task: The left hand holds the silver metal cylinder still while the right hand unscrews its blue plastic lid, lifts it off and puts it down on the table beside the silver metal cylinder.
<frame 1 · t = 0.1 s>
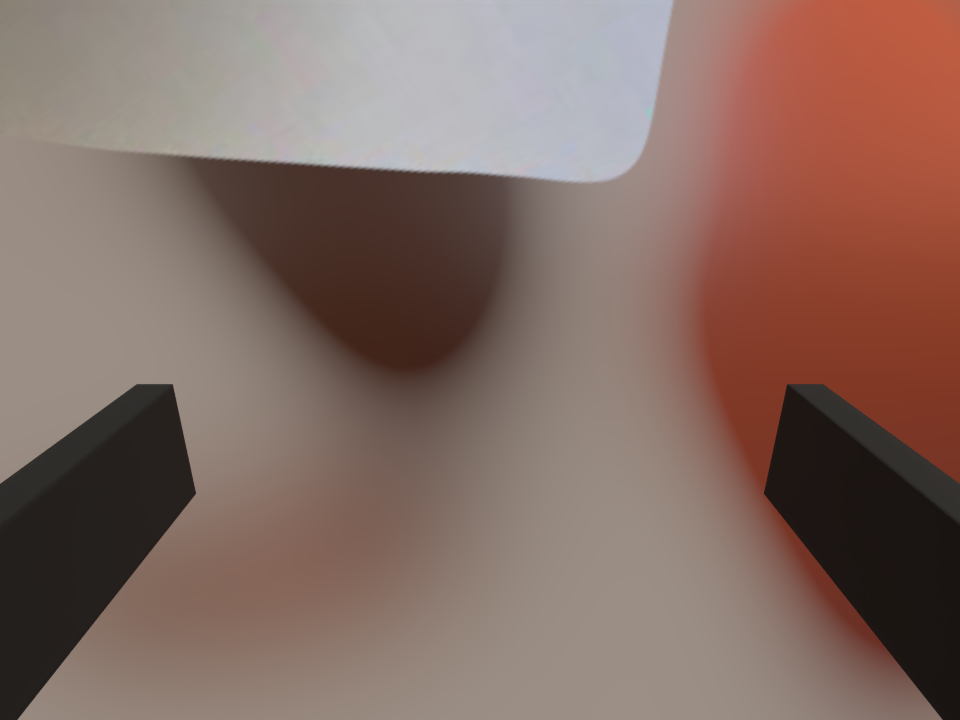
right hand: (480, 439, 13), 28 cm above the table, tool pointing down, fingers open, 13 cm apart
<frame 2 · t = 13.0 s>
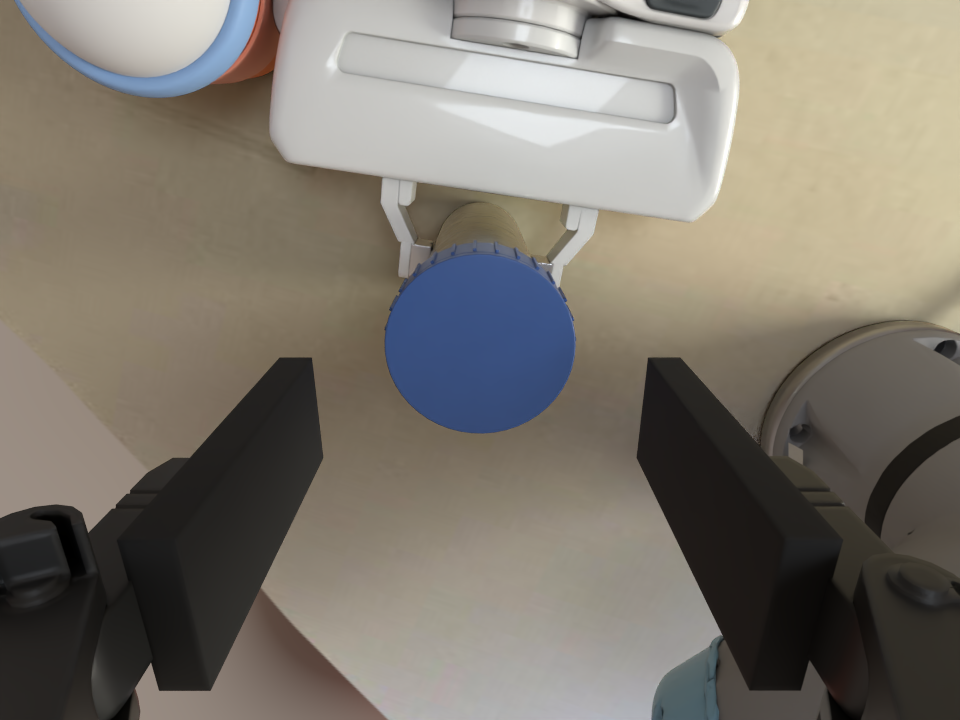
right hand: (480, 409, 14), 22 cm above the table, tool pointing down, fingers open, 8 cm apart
left hand: (478, 285, 29), fingers closed on silver metal cylinder, 5 cm apart
lid: (480, 345, 18), point 18 cm above the table, screwed on, not yet turned
cup with straw: (240, 14, 30), on the table
silver metal cylinder: (479, 245, 35), on the table, touching left hand
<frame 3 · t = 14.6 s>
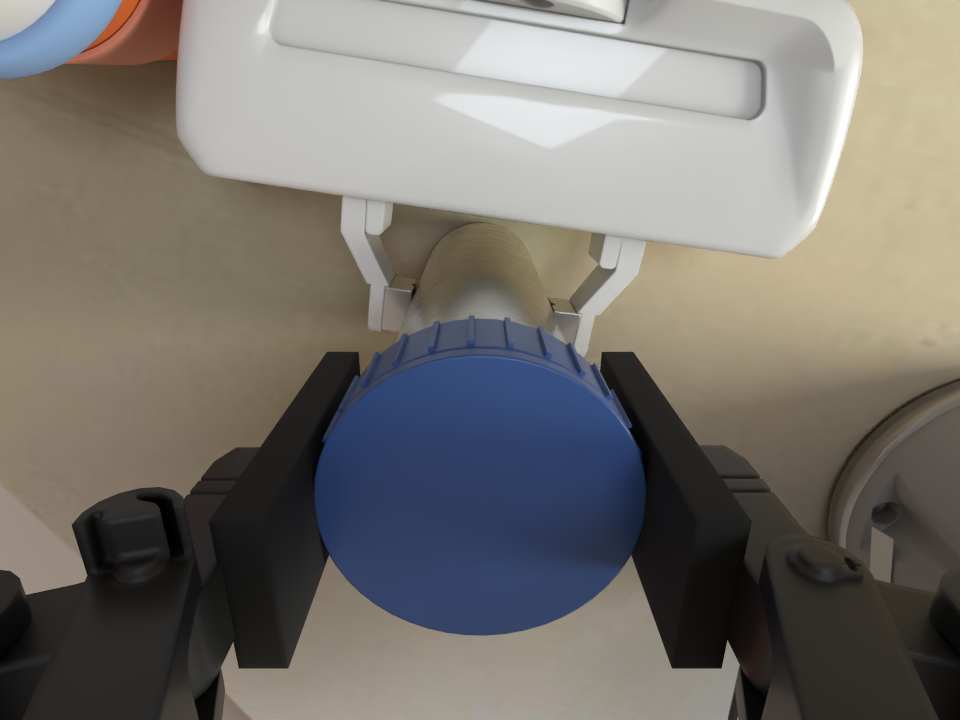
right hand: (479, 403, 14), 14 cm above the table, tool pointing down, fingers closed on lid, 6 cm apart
left hand: (477, 340, 21), fingers closed on silver metal cylinder, 5 cm apart
lid: (480, 498, 11), point 18 cm above the table, screwed on, not yet turned, touching right hand
silver metal cylinder: (479, 276, 27), on the table, touching left hand
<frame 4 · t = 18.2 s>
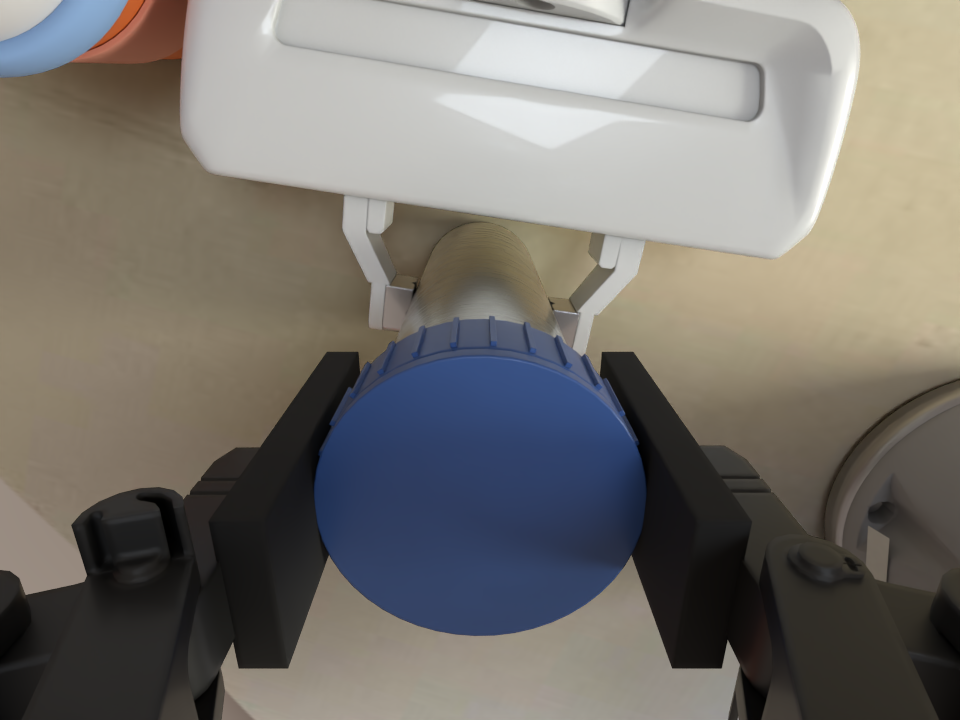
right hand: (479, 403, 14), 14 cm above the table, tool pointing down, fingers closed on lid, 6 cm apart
left hand: (477, 339, 22), fingers closed on silver metal cylinder, 5 cm apart
lid: (480, 499, 11), point 18 cm above the table, turned 109° so far, risen 0.2 cm, still on its thread, touching right hand
silver metal cylinder: (480, 276, 27), on the table, touching left hand
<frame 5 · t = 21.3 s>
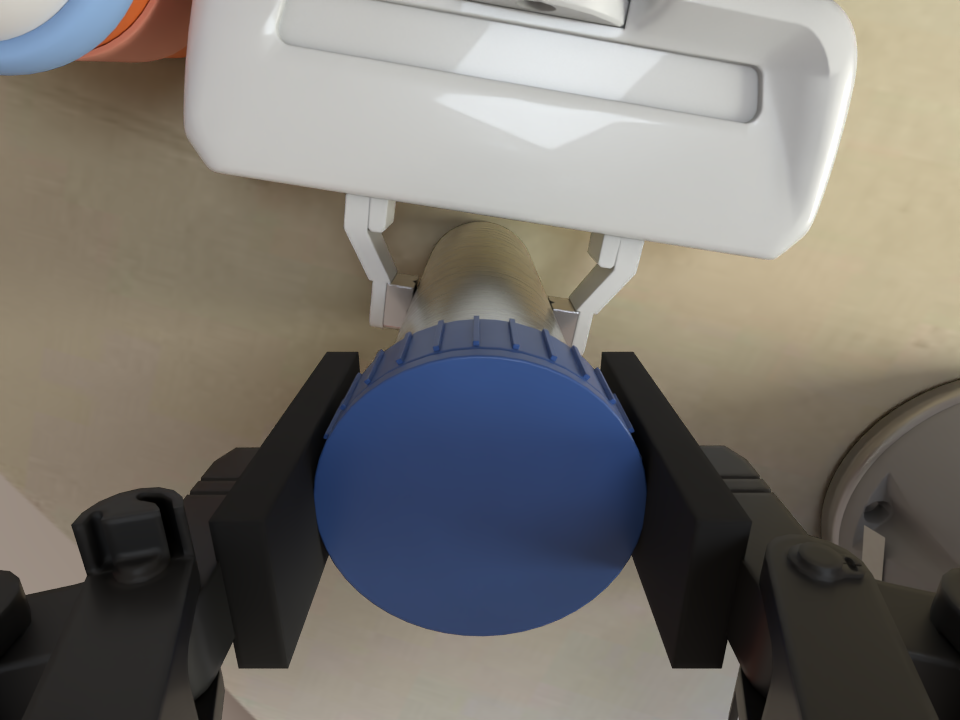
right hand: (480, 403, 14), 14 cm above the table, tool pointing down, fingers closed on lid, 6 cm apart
left hand: (477, 337, 22), fingers closed on silver metal cylinder, 5 cm apart
lid: (480, 499, 11), point 18 cm above the table, turned 217° so far, risen 0.4 cm, still on its thread, touching right hand
silver metal cylinder: (480, 275, 27), on the table, touching left hand
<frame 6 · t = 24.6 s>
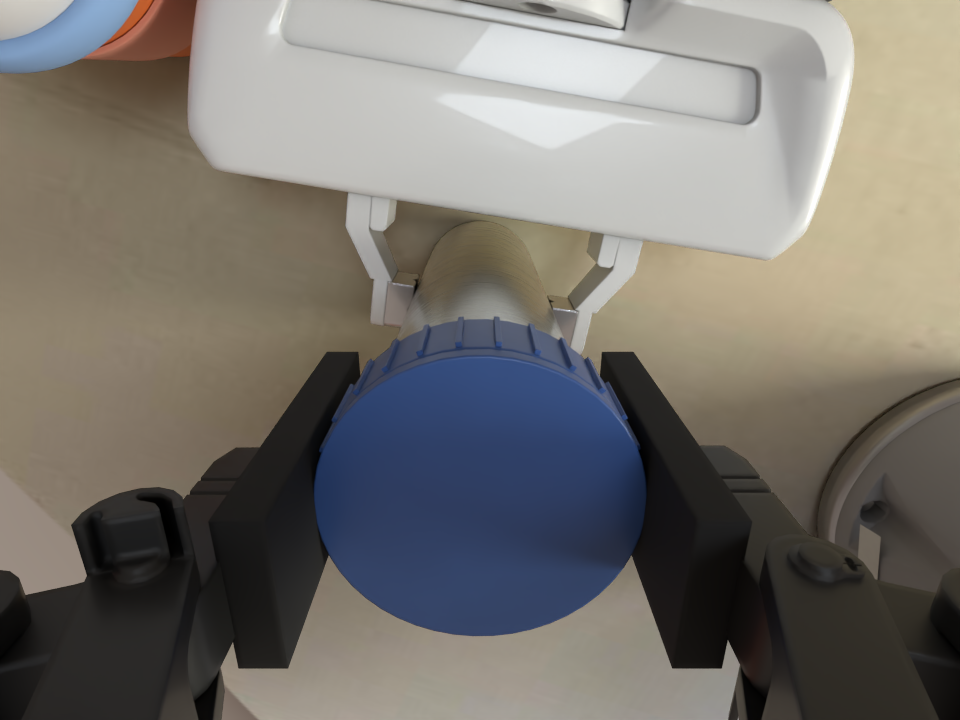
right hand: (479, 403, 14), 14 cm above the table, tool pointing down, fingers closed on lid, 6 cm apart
left hand: (477, 335, 22), fingers closed on silver metal cylinder, 5 cm apart
lid: (480, 499, 11), point 18 cm above the table, turned 326° so far, risen 0.6 cm, still on its thread, touching right hand
silver metal cylinder: (480, 274, 28), on the table, touching left hand
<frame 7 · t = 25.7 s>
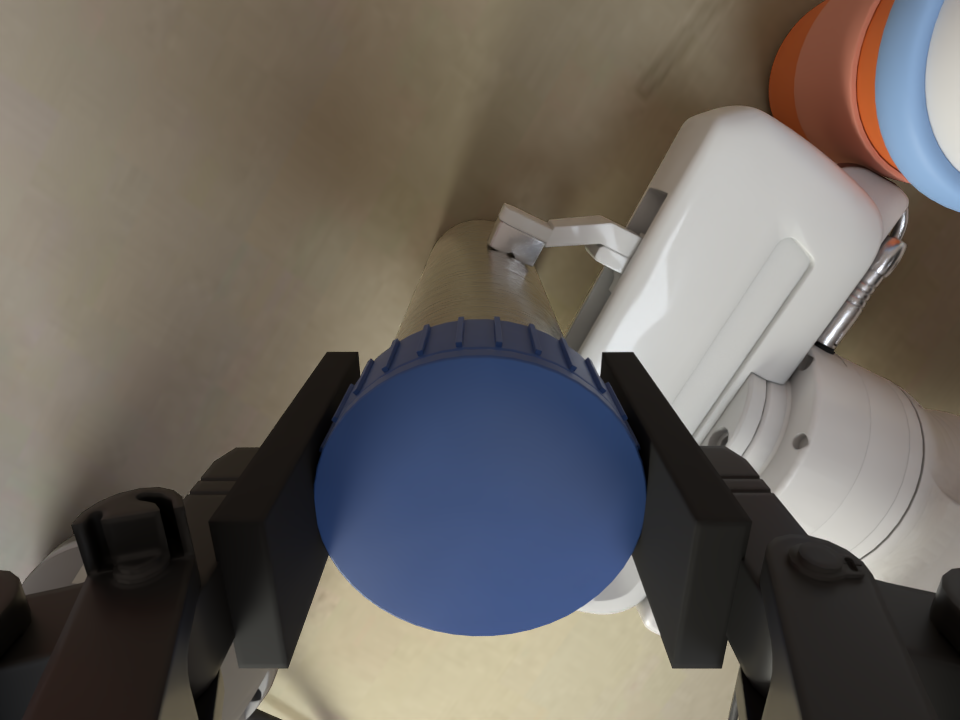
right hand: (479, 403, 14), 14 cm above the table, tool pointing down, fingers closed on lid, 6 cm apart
left hand: (457, 302, 22), fingers closed on silver metal cylinder, 5 cm apart
lid: (480, 499, 11), point 18 cm above the table, off its thread, touching right hand
cup with straw: (837, 77, 25), on the table
silver metal cylinder: (479, 272, 28), on the table, touching left hand
when the right hand's fingers open (0 cm above the table, at t = 31.3 s): lid drops 2 cm, point 2 cm above the table.
when the left hand's fingers open (6 cm above the table, at t = 31.9 s): silver metal cylinder stays where it is, on the table.
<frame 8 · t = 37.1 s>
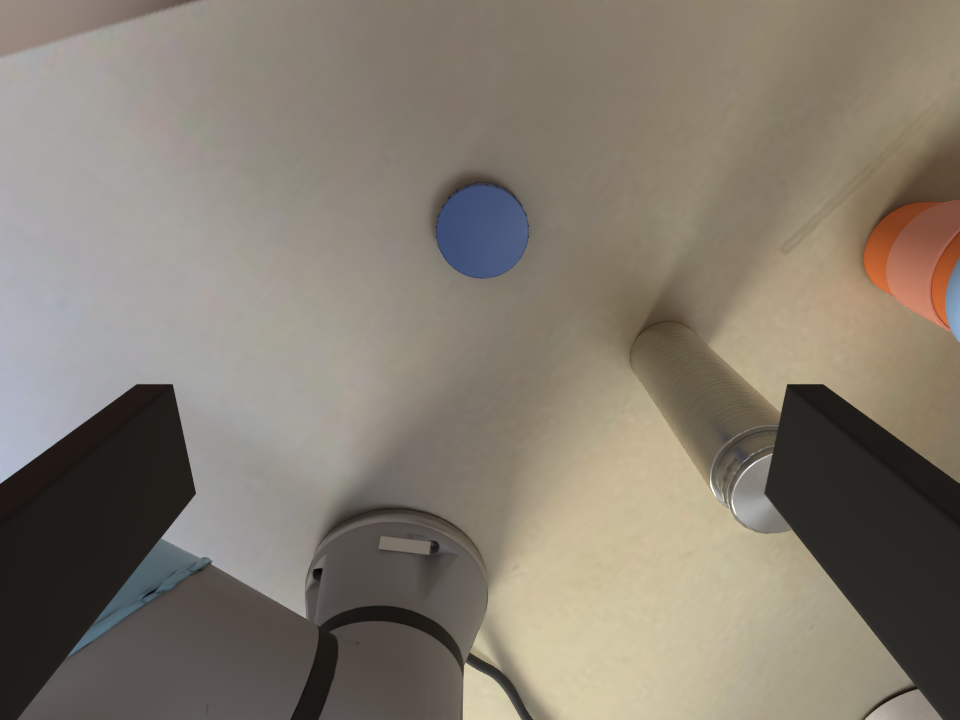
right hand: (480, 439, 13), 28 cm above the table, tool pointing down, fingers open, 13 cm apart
lid: (482, 232, 37), point 2 cm above the table, off its thread
cup with straw: (906, 247, 39), on the table
silver metal cylinder: (664, 354, 42), on the table
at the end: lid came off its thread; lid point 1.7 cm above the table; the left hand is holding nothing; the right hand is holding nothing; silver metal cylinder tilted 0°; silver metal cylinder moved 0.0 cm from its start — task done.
